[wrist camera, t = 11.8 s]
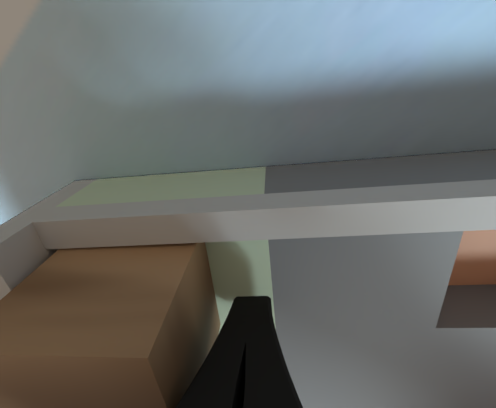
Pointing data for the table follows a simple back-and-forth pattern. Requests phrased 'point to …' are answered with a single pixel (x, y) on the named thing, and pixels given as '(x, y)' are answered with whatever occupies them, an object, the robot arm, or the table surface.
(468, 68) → the table surface
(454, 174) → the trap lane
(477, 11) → the table surface
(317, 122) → the table surface
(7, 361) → the walnut block
